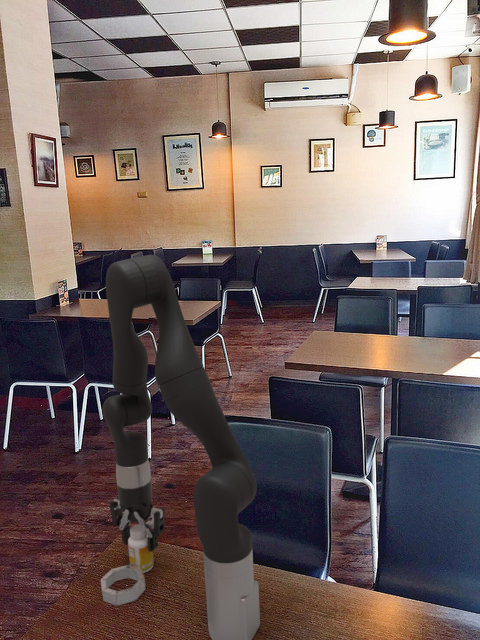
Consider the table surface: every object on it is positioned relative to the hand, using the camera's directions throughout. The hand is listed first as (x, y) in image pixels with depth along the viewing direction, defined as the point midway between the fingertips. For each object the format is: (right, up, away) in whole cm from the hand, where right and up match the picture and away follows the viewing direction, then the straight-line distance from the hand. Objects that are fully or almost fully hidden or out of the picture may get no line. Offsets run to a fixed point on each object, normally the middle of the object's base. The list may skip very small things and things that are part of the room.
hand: (140, 546), depth 118 cm
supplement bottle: (0, -5, +1) cm, 5 cm away
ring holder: (-2, -7, -7) cm, 10 cm away
